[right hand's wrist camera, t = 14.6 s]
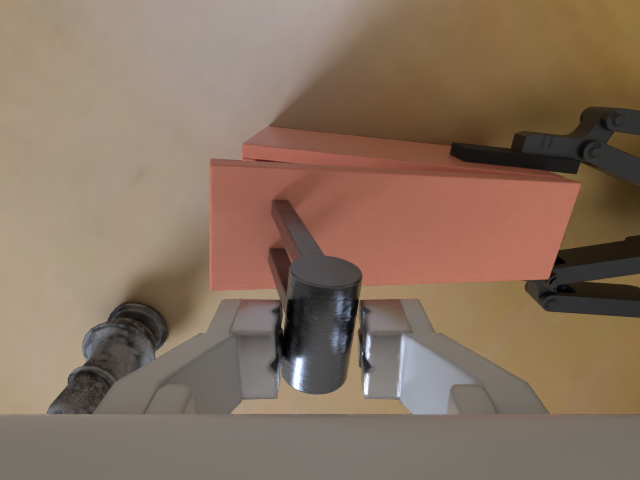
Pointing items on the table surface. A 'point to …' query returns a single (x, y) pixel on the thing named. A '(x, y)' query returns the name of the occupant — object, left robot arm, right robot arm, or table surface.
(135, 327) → the salt shaker
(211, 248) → the lid
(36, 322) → the table surface
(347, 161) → the chest
